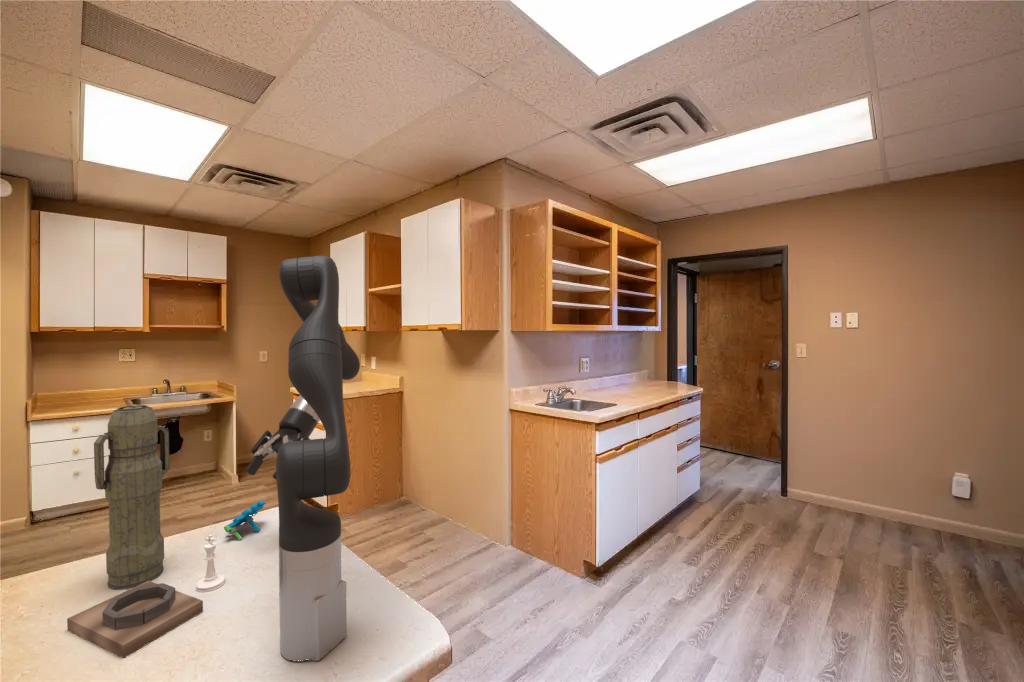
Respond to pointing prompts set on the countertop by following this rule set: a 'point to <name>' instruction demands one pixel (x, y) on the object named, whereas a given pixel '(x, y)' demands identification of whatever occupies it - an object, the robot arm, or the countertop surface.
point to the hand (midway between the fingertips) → (262, 476)
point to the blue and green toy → (245, 520)
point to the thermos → (133, 494)
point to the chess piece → (210, 570)
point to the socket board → (134, 633)
